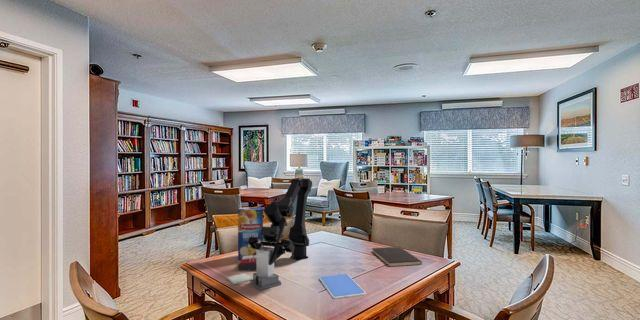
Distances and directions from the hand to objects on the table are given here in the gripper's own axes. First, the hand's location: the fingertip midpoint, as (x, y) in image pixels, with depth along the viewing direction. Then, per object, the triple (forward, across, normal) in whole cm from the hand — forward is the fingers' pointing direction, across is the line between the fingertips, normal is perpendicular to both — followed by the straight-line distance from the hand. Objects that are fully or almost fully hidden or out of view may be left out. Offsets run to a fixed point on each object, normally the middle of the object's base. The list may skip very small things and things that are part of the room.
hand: (263, 264), depth 120 cm
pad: (+4, -12, +7) cm, 15 cm away
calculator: (-7, -14, +19) cm, 24 cm away
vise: (+5, 0, +7) cm, 8 cm away
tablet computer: (0, +28, +12) cm, 31 cm away
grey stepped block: (+3, 0, +3) cm, 5 cm away
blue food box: (-14, -23, +26) cm, 38 cm away
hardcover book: (-29, +45, +42) cm, 68 cm away
